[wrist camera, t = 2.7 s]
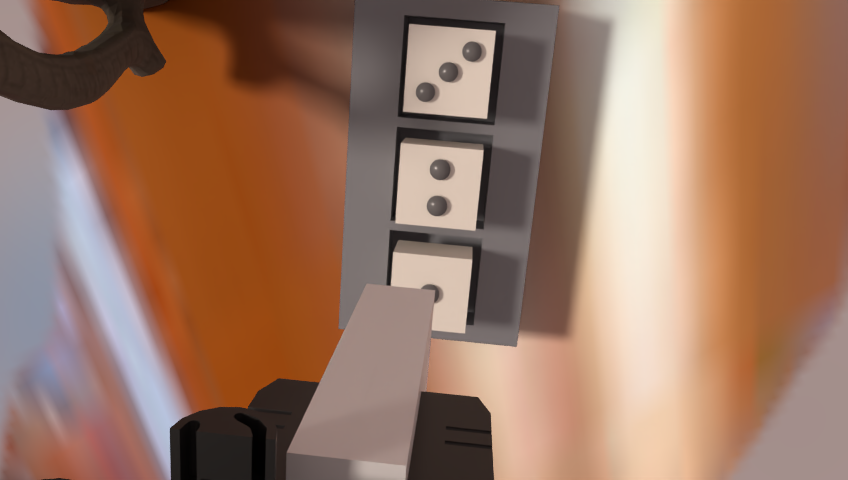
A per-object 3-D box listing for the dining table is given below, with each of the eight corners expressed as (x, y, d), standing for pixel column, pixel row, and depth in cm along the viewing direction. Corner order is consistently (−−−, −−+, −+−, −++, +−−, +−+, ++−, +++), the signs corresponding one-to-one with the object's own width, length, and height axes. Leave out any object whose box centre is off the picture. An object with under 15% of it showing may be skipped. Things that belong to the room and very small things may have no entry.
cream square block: (400, 212, 36) (394, 224, 34) (405, 137, 35) (400, 143, 33) (475, 219, 36) (475, 231, 33) (482, 144, 35) (483, 150, 32)
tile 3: (407, 108, 35) (402, 111, 32) (413, 26, 34) (408, 23, 31) (485, 114, 34) (487, 119, 32) (494, 32, 33) (496, 30, 31)
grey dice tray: (348, 309, 41) (338, 328, 38) (364, -5, 36) (355, -11, 33) (513, 326, 41) (516, 346, 38) (552, 9, 36) (559, 5, 33)
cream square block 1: (393, 309, 38) (387, 327, 35) (398, 240, 36) (392, 253, 34) (465, 316, 37) (464, 334, 35) (472, 246, 36) (472, 260, 34)
